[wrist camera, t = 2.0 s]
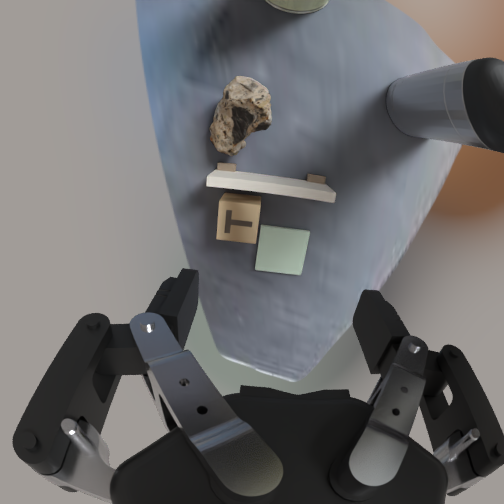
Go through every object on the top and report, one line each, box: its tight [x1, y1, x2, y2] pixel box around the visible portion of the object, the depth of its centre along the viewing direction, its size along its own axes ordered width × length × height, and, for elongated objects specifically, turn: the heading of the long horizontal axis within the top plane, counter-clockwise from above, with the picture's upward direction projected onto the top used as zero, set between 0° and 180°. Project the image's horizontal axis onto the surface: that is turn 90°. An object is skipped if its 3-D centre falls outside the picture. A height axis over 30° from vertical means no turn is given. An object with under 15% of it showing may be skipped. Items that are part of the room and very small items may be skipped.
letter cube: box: [216, 192, 261, 244], centre depth 36 cm, size 5×5×5 cm
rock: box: [209, 76, 272, 156], centre depth 30 cm, size 9×7×10 cm
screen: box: [206, 162, 336, 203], centre depth 33 cm, size 15×3×6 cm, turn 83°
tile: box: [255, 224, 310, 275], centre depth 40 cm, size 7×7×1 cm
